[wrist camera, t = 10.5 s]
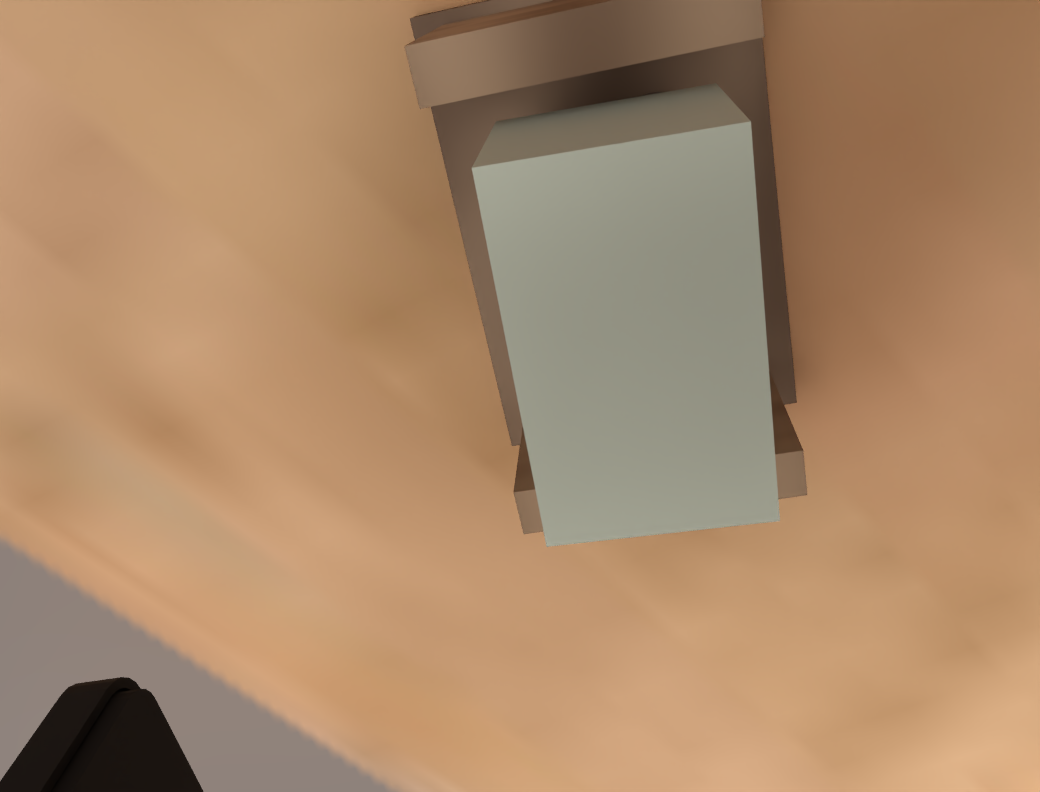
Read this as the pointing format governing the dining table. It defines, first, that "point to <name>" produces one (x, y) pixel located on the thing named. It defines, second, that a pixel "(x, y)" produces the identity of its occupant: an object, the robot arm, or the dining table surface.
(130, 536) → the dining table surface
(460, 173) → the peg stand
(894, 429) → the dining table surface
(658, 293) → the grey green block
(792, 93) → the dining table surface
